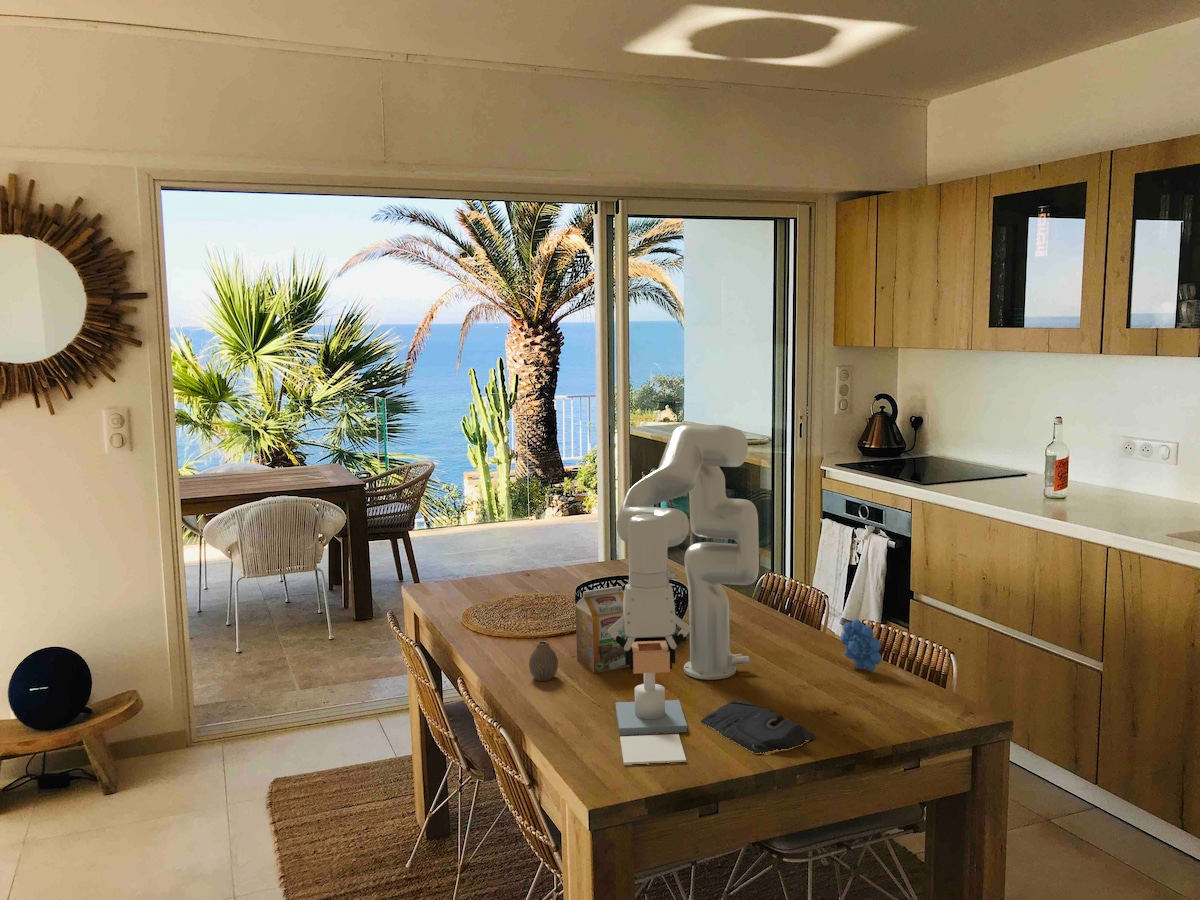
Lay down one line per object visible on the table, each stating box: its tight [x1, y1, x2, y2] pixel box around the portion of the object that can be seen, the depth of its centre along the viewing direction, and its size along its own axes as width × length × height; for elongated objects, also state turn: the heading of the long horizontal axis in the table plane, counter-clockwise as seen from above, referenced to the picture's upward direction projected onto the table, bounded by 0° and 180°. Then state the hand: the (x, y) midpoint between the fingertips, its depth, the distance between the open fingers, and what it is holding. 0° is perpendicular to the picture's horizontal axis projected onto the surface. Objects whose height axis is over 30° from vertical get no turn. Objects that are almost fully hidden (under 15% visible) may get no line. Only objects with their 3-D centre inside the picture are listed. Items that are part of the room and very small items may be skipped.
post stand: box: [614, 673, 688, 736], centre depth 211 cm, size 14×14×12 cm
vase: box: [528, 640, 559, 682], centre depth 238 cm, size 7×7×9 cm
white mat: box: [619, 733, 687, 766], centre depth 196 cm, size 12×12×1 cm
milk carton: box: [575, 585, 629, 674], centre depth 246 cm, size 11×11×19 cm
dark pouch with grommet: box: [700, 700, 816, 753], centre depth 204 cm, size 15×22×5 cm
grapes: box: [840, 618, 883, 672], centre depth 237 cm, size 12×7×12 cm, turn 37°
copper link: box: [631, 640, 671, 674], centre depth 194 cm, size 7×7×4 cm
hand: (650, 666), depth 194 cm, fingers closed on copper link, 7 cm apart
